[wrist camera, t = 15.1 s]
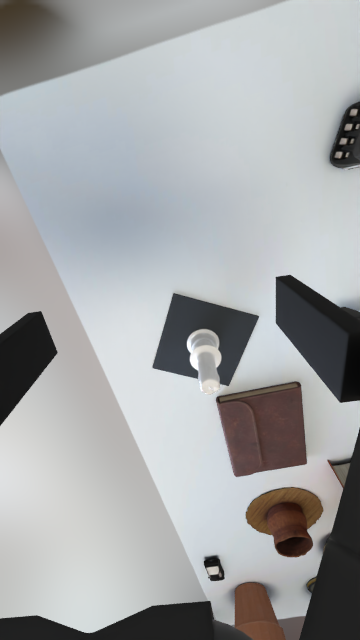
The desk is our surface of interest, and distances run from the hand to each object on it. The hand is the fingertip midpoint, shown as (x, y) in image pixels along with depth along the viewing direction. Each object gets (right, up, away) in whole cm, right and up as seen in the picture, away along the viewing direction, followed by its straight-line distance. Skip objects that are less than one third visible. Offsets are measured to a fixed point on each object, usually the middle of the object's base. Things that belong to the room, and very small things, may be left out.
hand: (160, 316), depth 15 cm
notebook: (+17, -21, +37) cm, 46 cm away
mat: (+5, -4, +29) cm, 30 cm away
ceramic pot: (+25, -45, +47) cm, 70 cm away
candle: (+5, -4, +29) cm, 30 cm away
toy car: (+10, -67, +57) cm, 88 cm away
